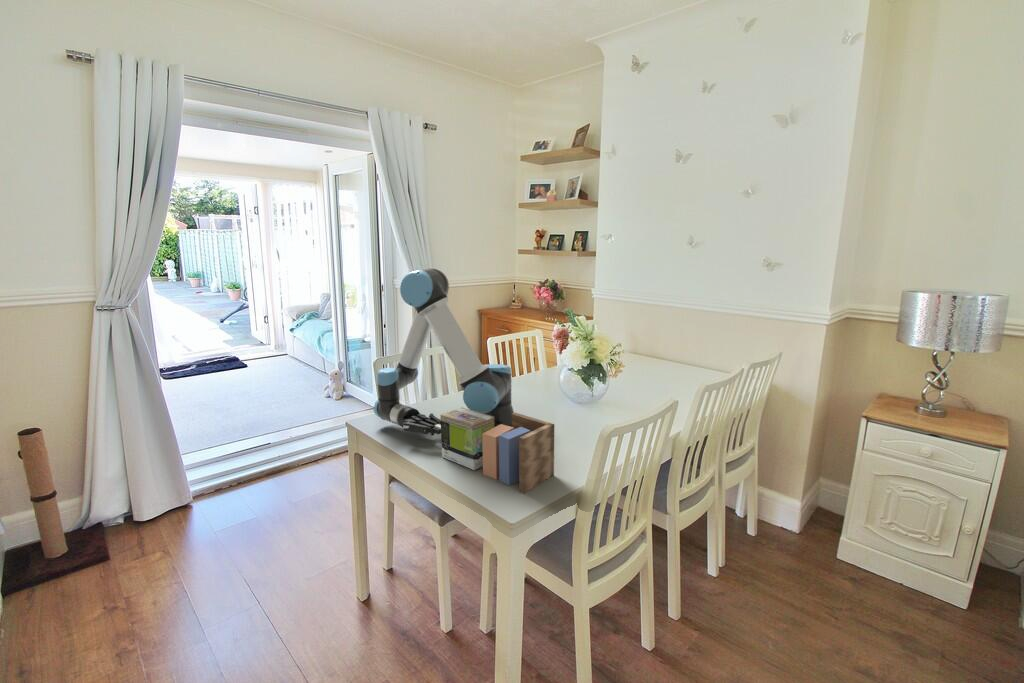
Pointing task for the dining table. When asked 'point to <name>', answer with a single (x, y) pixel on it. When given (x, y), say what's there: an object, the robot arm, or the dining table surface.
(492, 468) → the rust book
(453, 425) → the tea box
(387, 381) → the robot arm
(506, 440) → the blue book
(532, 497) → the dining table surface
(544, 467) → the shelf
